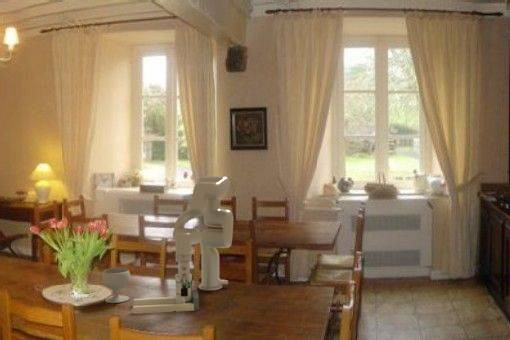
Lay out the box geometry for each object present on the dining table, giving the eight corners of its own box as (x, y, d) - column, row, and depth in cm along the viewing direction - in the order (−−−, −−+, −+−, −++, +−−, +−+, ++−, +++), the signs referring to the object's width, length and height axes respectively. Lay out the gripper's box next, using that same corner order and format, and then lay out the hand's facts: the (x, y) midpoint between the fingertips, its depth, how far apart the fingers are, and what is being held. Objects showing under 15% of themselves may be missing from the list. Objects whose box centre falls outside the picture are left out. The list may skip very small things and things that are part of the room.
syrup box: (184, 305, 263) (183, 275, 262) (175, 303, 267) (175, 273, 266) (192, 302, 268) (192, 273, 267) (184, 300, 272) (183, 271, 270)
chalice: (123, 305, 269) (123, 274, 268) (97, 303, 272) (96, 273, 271) (135, 296, 283) (135, 267, 282) (110, 295, 286) (109, 266, 285)
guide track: (197, 301, 275) (197, 289, 274) (198, 310, 262) (198, 297, 262) (134, 305, 270) (134, 292, 269) (132, 313, 257) (132, 301, 257)
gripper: (192, 261, 258) (192, 298, 259) (190, 253, 275) (191, 287, 276) (176, 262, 256) (176, 299, 258) (175, 253, 274) (175, 288, 275)
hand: (184, 293), depth 267 cm, fingers closed on syrup box, 7 cm apart
